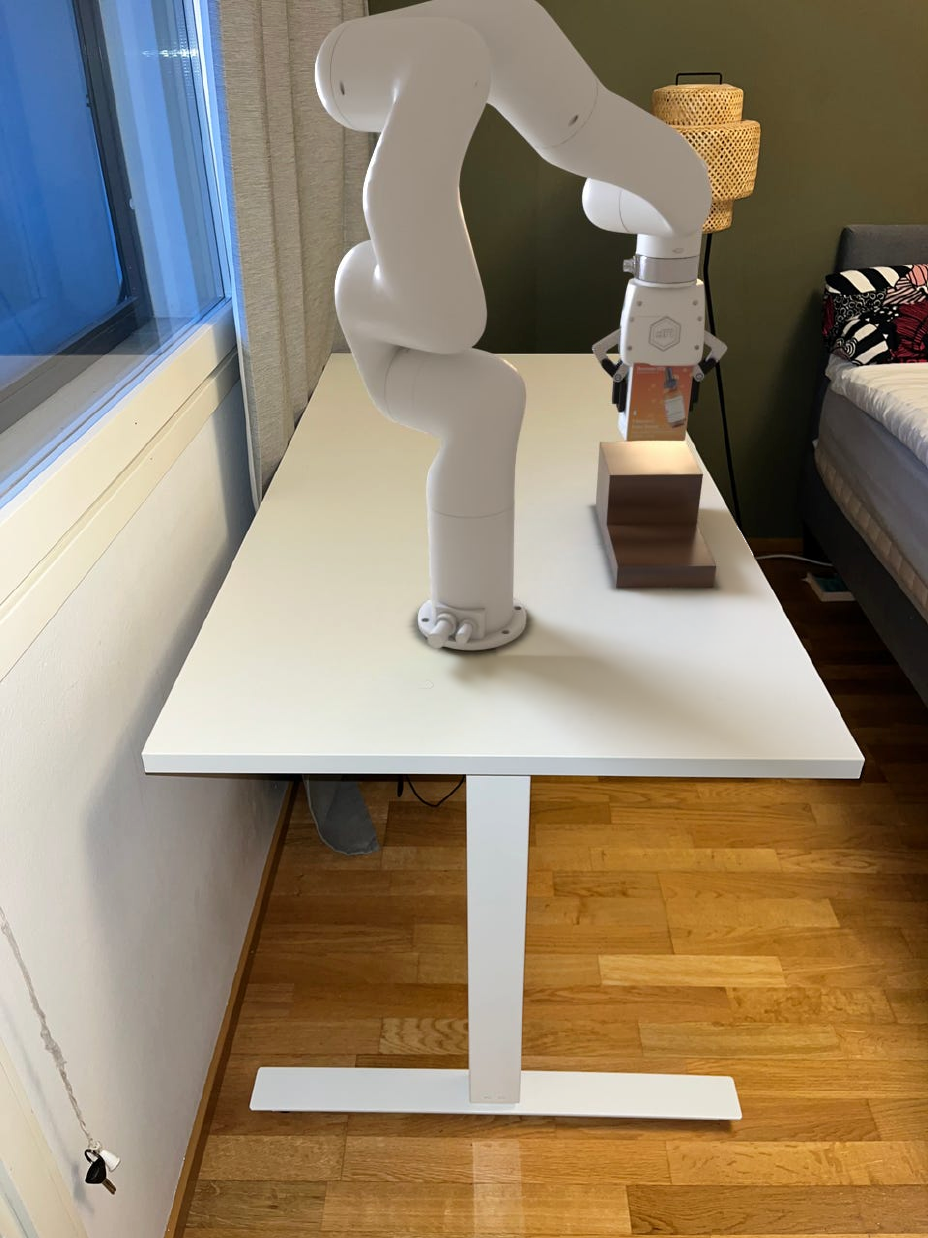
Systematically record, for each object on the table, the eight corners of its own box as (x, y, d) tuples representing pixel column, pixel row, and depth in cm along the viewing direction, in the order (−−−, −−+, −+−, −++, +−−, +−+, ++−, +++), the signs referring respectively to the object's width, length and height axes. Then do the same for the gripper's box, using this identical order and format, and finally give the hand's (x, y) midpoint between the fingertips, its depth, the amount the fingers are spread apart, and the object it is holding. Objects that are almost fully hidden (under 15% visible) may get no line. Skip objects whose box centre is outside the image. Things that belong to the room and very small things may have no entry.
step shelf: (713, 587, 117) (723, 513, 112) (616, 588, 117) (621, 514, 112) (678, 506, 137) (685, 440, 132) (595, 507, 138) (599, 441, 132)
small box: (625, 443, 123) (631, 362, 118) (617, 428, 128) (622, 350, 122) (686, 441, 123) (695, 360, 118) (676, 426, 128) (684, 348, 123)
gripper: (597, 276, 112) (589, 419, 121) (746, 274, 111) (727, 417, 120) (591, 264, 118) (584, 400, 127) (731, 262, 118) (714, 398, 127)
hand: (653, 408), depth 124 cm, fingers closed on small box, 8 cm apart
